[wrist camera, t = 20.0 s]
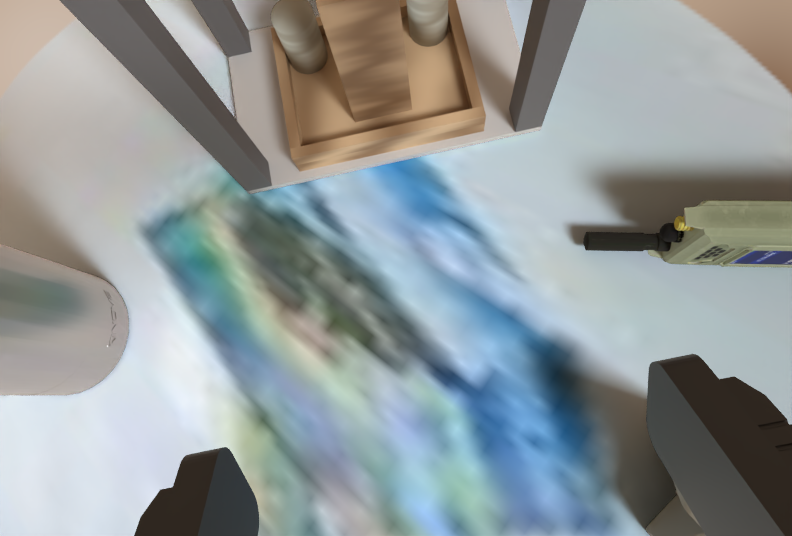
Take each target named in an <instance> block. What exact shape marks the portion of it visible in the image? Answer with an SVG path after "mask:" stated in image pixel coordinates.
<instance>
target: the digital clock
mask: <svg viewBox="0 0 792 536" xmlns="http://www.w3.org/2000/svg"><path fill="white" fill-rule="evenodd" d="M673 482H674V481H673ZM674 485H675V488H676V491H675V493H676V494H677V495H676V496H675V497H674V498H673V499H672V500H671V501H670V502H669V503H668V504H667V506H666V507H665V508H664V509H663V510H662V511H661V512H660V513H659V514H658V515H657V516H656V517H655V518H654V519H653V520H652V521H651V522H650V524H649V525H648V526H647V528H646V532H647V533H648V534H649V535H650V536H706V535H705V533H704V531H703V530H702V528H701V526H700V525H699V523H698V521H697V520H696V518H695V516H694V515H693V513H692V511H691V510H690V508H689V506H688V505H687V503H686V501H685V500H684V498H683V496H682V495H681V493H680V491H679V490H678V488H677V486H676V484H675V483H674Z"/></svg>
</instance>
